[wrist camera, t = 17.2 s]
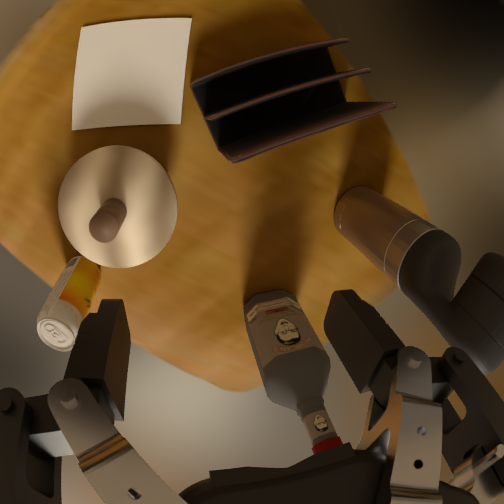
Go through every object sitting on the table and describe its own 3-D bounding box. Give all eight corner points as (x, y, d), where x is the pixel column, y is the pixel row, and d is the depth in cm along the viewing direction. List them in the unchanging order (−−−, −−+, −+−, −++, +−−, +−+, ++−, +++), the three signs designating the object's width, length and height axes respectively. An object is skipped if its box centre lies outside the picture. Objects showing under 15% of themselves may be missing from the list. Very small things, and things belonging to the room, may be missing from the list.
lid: (179, 143, 29) (177, 150, 24) (178, 263, 36) (178, 290, 31) (56, 150, 25) (32, 160, 20) (70, 264, 32) (56, 290, 27)
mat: (191, 19, 26) (191, 18, 26) (180, 123, 33) (180, 124, 33) (83, 28, 23) (81, 27, 22) (73, 130, 30) (71, 130, 29)
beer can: (82, 291, 41) (57, 358, 28) (61, 263, 38) (25, 325, 25) (109, 277, 41) (87, 345, 28) (87, 247, 38) (54, 309, 25)
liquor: (293, 322, 54) (360, 460, 28) (246, 333, 52) (295, 483, 26) (292, 284, 49) (379, 435, 23) (241, 295, 48) (299, 465, 22)
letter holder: (344, 105, 36) (407, 111, 24) (218, 151, 36) (234, 173, 24) (323, 44, 31) (381, 25, 19) (188, 85, 31) (189, 69, 19)
